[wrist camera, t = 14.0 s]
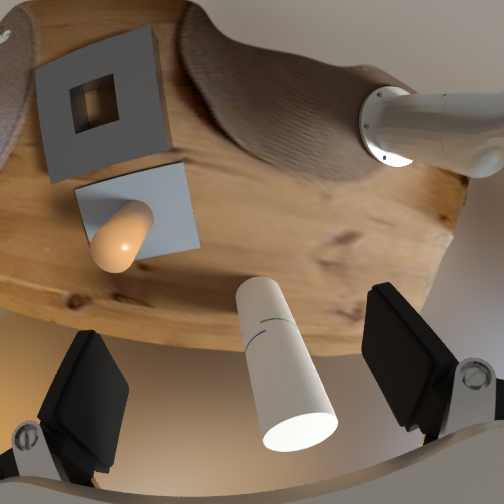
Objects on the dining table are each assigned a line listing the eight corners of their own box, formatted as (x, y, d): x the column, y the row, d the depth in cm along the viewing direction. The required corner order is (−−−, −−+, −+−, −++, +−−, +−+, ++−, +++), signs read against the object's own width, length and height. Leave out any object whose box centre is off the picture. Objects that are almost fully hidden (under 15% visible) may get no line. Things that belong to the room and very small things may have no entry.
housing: (157, 37, 28) (150, 25, 24) (173, 148, 35) (168, 150, 30) (52, 74, 27) (35, 69, 23) (67, 177, 34) (51, 184, 29)
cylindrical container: (226, 293, 44) (247, 437, 22) (264, 267, 44) (319, 402, 21) (252, 322, 47) (286, 457, 25) (288, 298, 46) (348, 427, 24)
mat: (183, 161, 36) (183, 162, 35) (200, 246, 41) (200, 247, 40) (76, 189, 35) (74, 190, 34) (99, 265, 40) (98, 267, 39)
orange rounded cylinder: (148, 196, 36) (125, 222, 26) (157, 231, 38) (140, 268, 28) (114, 205, 36) (83, 233, 26) (125, 238, 38) (99, 276, 28)
